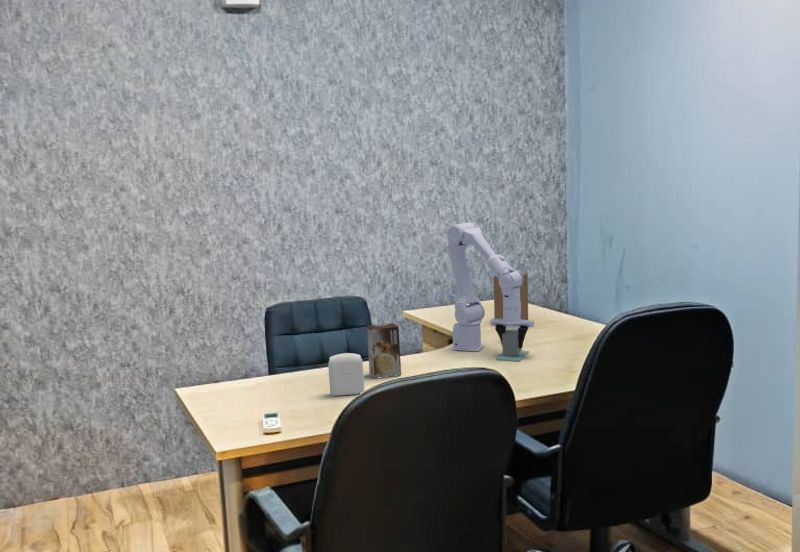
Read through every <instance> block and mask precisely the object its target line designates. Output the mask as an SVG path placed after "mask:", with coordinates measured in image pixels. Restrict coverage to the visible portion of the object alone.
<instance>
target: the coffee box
mask: <svg viewBox="0 0 800 552" xmlns="http://www.w3.org/2000/svg"><path fill="white" fill-rule="evenodd" d="M366 331H367V332H366V333H367V334H366V335H367V336H366V337H367V349H368V351H367V352H368V353H367V354H368V371H369V375H370V374H371V375H370V376H371V377H372V376H373V377H374V378H377V379H379V378H378V377H385V378H387V377H386V376H393V377H396V376H395V375H401V376H402V361H401V346H400V328H399V326H398V325H397V324H395V323H393V322H391V323H383V324H382V323H381V324H372V325H366ZM373 377H372V378H373ZM374 378H373V379H374Z"/></svg>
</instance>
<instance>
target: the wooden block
mask: <svg viewBox="0 0 800 552" xmlns="http://www.w3.org/2000/svg"><path fill="white" fill-rule="evenodd" d="M521 274H522V276H523V284H522V286H521V287H520V302H521V319H522V320H529V287H528V286H529V284H528V283H529V280H528V278H529V277H528V274H529V273H527V272H521ZM493 303H494V305H493V308H494V309H493V310H494V311H493V312H494V317H493V319H503V294H502V289H501V287H500V285H499V279H498V278H497V276H496V275H495V274H494V275H493ZM494 326H495V327H496V325H494Z"/></svg>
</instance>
